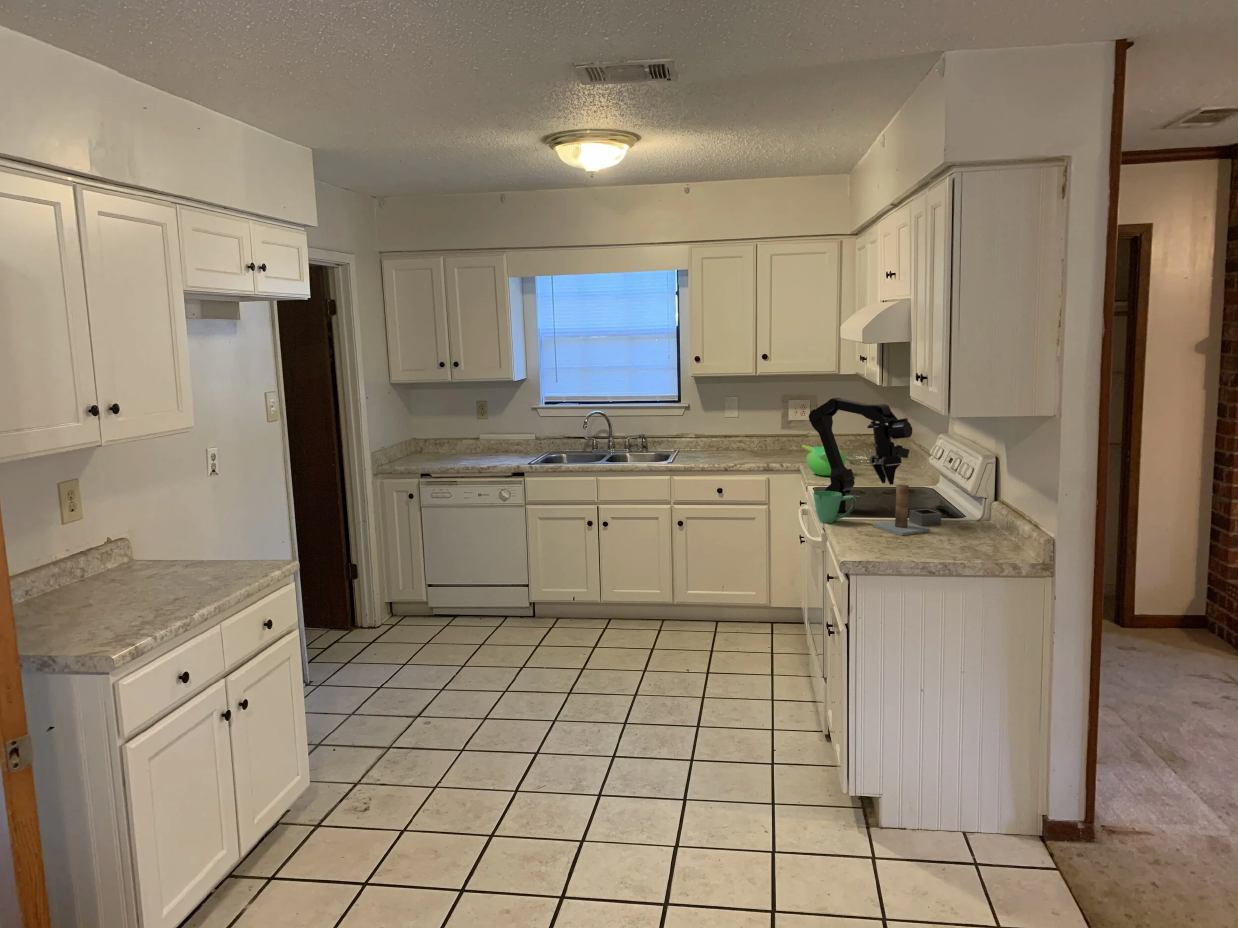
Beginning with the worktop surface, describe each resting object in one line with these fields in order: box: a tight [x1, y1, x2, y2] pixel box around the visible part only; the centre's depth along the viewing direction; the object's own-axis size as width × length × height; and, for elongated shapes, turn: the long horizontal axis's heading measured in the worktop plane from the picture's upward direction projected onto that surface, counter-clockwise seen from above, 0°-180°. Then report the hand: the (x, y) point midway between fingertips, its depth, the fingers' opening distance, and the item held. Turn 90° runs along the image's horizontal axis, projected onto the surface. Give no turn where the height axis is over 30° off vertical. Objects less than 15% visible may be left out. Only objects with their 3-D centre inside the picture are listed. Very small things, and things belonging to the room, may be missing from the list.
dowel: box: [894, 484, 910, 528], centre depth 297 cm, size 4×4×14 cm
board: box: [872, 520, 931, 537], centre depth 298 cm, size 14×12×1 cm
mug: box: [812, 490, 857, 524], centre depth 309 cm, size 15×10×10 cm
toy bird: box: [801, 444, 846, 477], centre depth 401 cm, size 18×17×15 cm
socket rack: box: [908, 508, 942, 527], centre depth 306 cm, size 8×8×4 cm
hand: (887, 483), depth 311 cm, fingers open, 9 cm apart
